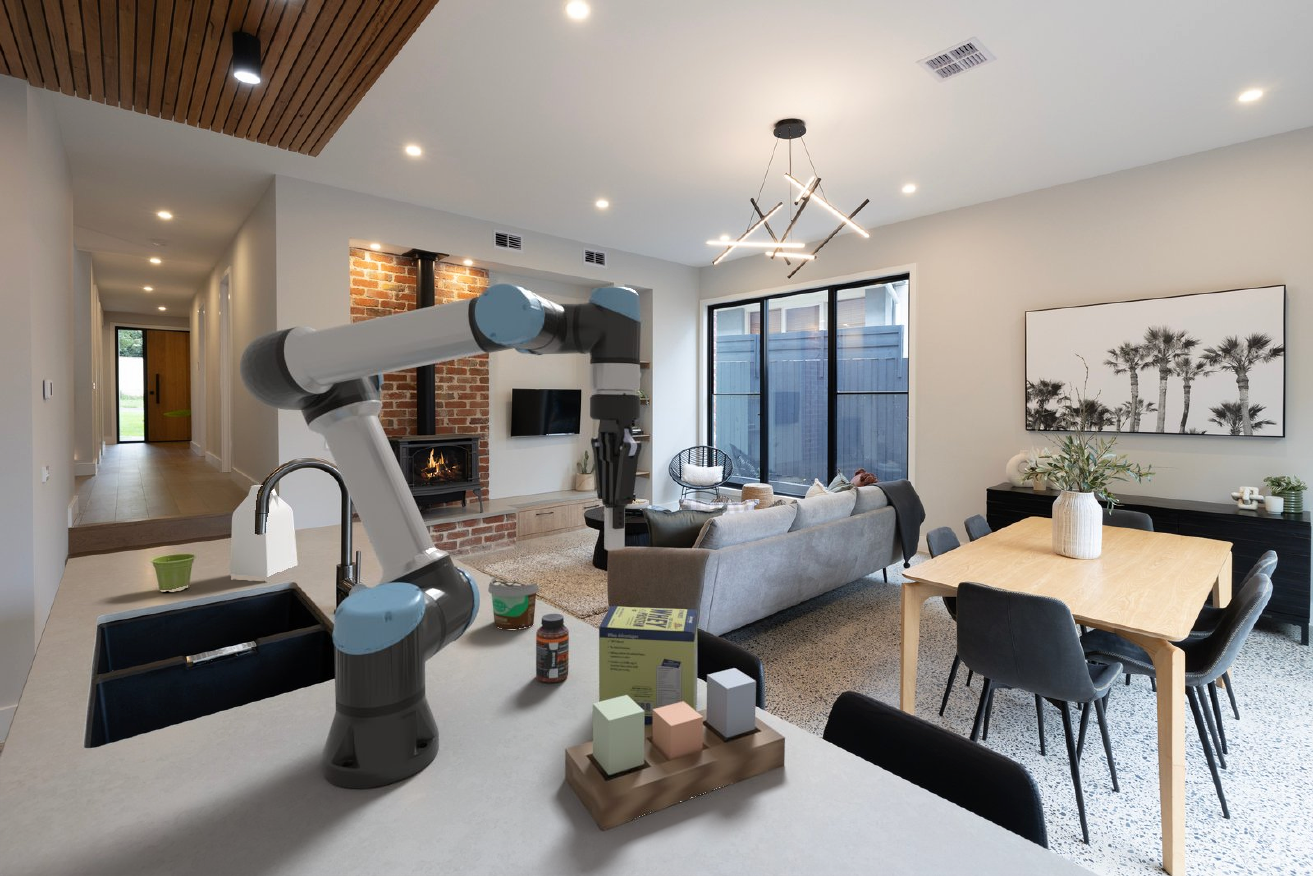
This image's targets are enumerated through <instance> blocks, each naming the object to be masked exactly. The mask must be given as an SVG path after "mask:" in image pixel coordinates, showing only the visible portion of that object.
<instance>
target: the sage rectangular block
mask: <svg viewBox="0 0 1313 876" xmlns="http://www.w3.org/2000/svg"><path fill="white" fill-rule="evenodd" d="M644 713H645V711H644V710H643V709H642V708H641V707H640V706H638V705H637V704H636V703H635V702H634V701H633V700H632V699H631V698H630V697H629V696H628V695H624V696H620V697H617V698H613V699H609V700H605V701H601V702H599V701H597V702H593V703H592V741H593V756H594V757H595V759H596V760H597V761H598V762H599V764H600V765H601V766H602V767H603V769H604V770H605V771H606V772H607V774H608V775H611V774H614V773H617V772H620V771H624V770H627V769H630V768H633V767H636V766H639V765H643V764H644V726H645V725H644Z"/></svg>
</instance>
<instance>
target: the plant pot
mask: <svg viewBox="0 0 1313 876" xmlns="http://www.w3.org/2000/svg"><path fill="white" fill-rule="evenodd" d="M195 558H197V554H193V553H177V554H166V555H161V556H157V557H154V558H152V559H150V562H151V563H152V566H153V568H154V571H155V574H156V579H157V584H158V589H160V590H172V589H176V588H179V587H183V586H187V585H188V584H189V585H190V581H191V573H192V567H193V564H194V560H195ZM160 590H159V591H160Z"/></svg>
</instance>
